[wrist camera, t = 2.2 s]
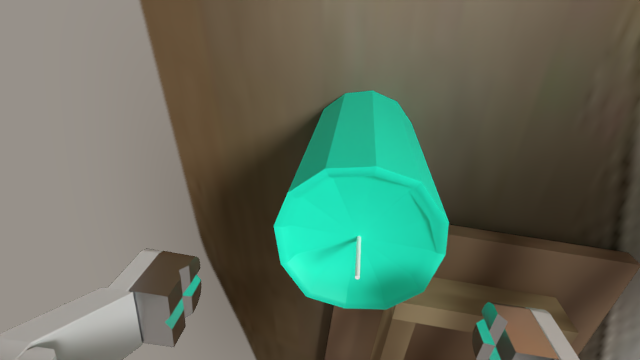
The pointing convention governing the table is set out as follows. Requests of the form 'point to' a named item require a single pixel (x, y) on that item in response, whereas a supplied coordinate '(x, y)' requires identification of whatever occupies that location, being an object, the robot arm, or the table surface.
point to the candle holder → (486, 297)
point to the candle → (362, 209)
